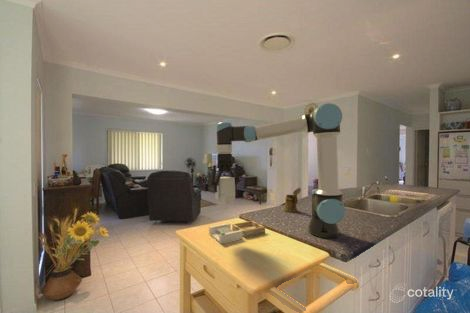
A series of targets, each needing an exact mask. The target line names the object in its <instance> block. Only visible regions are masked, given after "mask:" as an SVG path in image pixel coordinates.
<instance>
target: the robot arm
mask: <svg viewBox="0 0 470 313" xmlns="http://www.w3.org/2000/svg"><path fill="white" fill-rule="evenodd" d="M342 119H343V111H342V109H341V108H340V107H339V106H338V105H336V104H334V103H330V102H329V103H328V102H326V103H323V104H320V105H319V106H317V107H316V108H315V110H314V111H312V112H309V113H306V114H303V115H302V116H300V117H298V118H292V119H291V118H290V119H287V120H282V121H277V122H272V123H268V124H267V123H266V124H261V125H257V126H254V125H239V126H233V125H232V123H231V122H218V123H217V124H216V149H217V150H216V152H217V155H216V160H217V163H216V164H211V169H212V170H211V174H210V180H209V185H212V186H213V193H215V194H214V195H215V198H214V199H215V200H216V199H219V186H217V184H218V182H219V179H220V177H222V174H223V173H225V172H227V173H228V177H234V178H235V191H236V190H237V185H238V184H239V183H240V175H239V171H238V163H233V154H232V152H233V144H232V143H233V142H245V143H251V142H255V141H260V140H266V139H270V138H276V137H281V136H287V135H291V134H297V133H306V134H307V133H312V136H314V137H315V138H316V151H317V152H316V156H317V179H318V180H317V181H318V182H317V183H318V184H317V185H318V188H316V189H315V188H314V189H312V190H311V195H310V196H311V219H310V222H309V225H308V230H307V231H308V233H309V232H310V233H311V234H310V233H309V234H310V235H312V234H313V235H312V236H314V235H315V237H317V236H318V237H319V238H323V239H331V238H332V239H334V238H337V237H339V236H340V229H339V226H338V223H340V222H341V221H342V220H343V219H344V218H345V216H346V212H347V211H346V208H345V205H344V203H343V192H342V191H341V190H340V189H339V169H338V167H339V166H338V164H339V163H338V138H337V137H338V136H339V135H341V123H342ZM217 169H218V170H217Z"/></svg>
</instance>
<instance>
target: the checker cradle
mask: <svg viewBox="0 0 470 313" xmlns="http://www.w3.org/2000/svg"><path fill="white" fill-rule="evenodd" d="M223 227H228V228H229V229H231V230H232V228H231V227H232V226H231V223H230V222H229V223H228V222H227V223H222V224H217V225H211V226H208V234H210V235H209V236H210V237H212V238H213V239H214V240H215V239H216V240H217V243H218V244H220V245H222V244H227V243H231V242H234V241H239V240H240V241H241V240H243V237H242V230H238V231H233V230H232V231H233V232H229V233H225V232H222V233H219V232H217V231H216V229H218V228H223ZM216 240H215V241H216Z"/></svg>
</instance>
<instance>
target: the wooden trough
mask: <svg viewBox="0 0 470 313" xmlns="http://www.w3.org/2000/svg"><path fill="white" fill-rule="evenodd" d="M231 227H232V228H231V230H233V231H238V230H242V238H244V239H245V238H249V237H253V236H258V235H263V234H266V227H265V226H264V225H262V224H260V223H257V222H255V221H254V220H248V221H244V222H237V223H232V226H231Z"/></svg>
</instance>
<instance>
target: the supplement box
mask: <svg viewBox="0 0 470 313" xmlns="http://www.w3.org/2000/svg"><path fill="white" fill-rule="evenodd" d="M234 177H235V176H234ZM234 177H230V176H221V177H220V179H219V182H218V184H217V186H219V199H216V198H215V203H218V204H223V205H227V204H232V203H235V202H236V190H235V178H234Z"/></svg>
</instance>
